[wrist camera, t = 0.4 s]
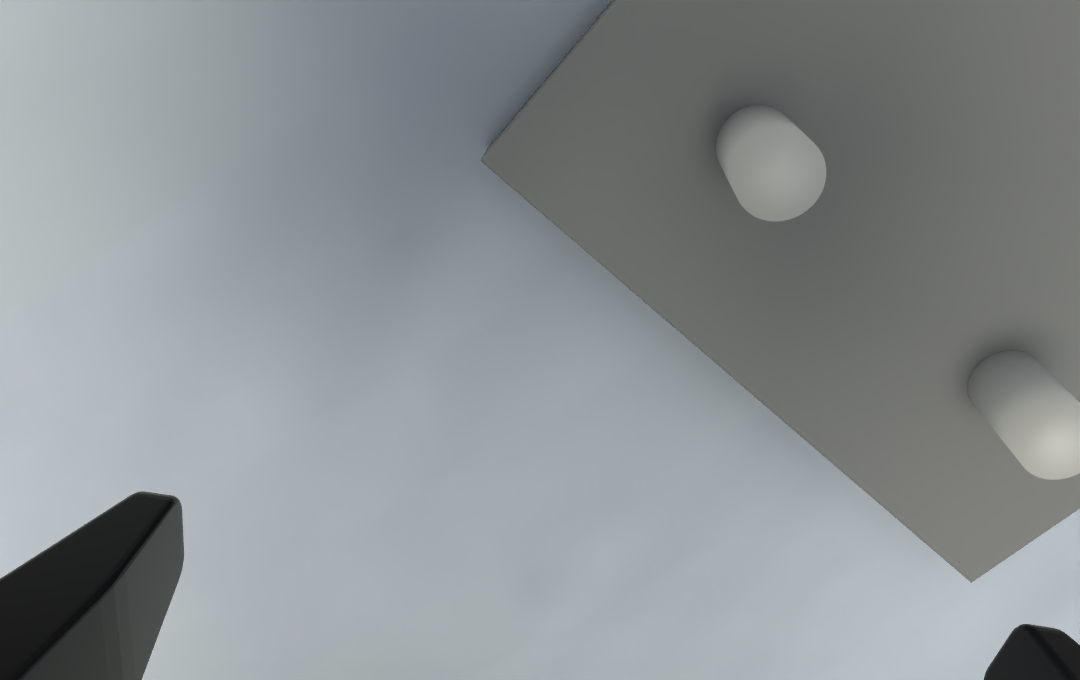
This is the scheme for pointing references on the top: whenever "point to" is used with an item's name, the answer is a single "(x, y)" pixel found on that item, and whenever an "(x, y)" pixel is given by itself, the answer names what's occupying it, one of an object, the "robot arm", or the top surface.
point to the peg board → (848, 229)
